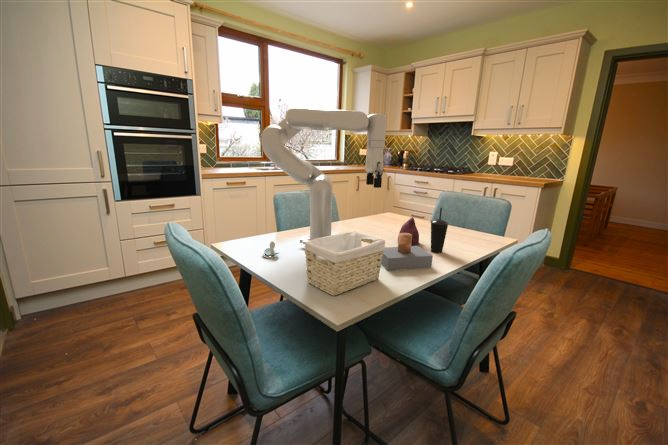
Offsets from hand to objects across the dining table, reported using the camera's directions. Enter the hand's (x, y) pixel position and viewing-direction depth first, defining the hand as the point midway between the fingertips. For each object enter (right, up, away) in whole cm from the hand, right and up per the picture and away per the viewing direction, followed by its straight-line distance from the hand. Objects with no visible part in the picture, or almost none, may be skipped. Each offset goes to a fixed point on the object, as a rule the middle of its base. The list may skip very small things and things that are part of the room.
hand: (373, 186), depth 133 cm
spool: (+11, -27, -12) cm, 31 cm away
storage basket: (-13, -36, -27) cm, 47 cm away
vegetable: (+19, -26, +16) cm, 36 cm away
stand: (+10, -32, -11) cm, 35 cm away
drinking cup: (+29, -29, +4) cm, 41 cm away
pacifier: (-43, -30, -6) cm, 53 cm away
